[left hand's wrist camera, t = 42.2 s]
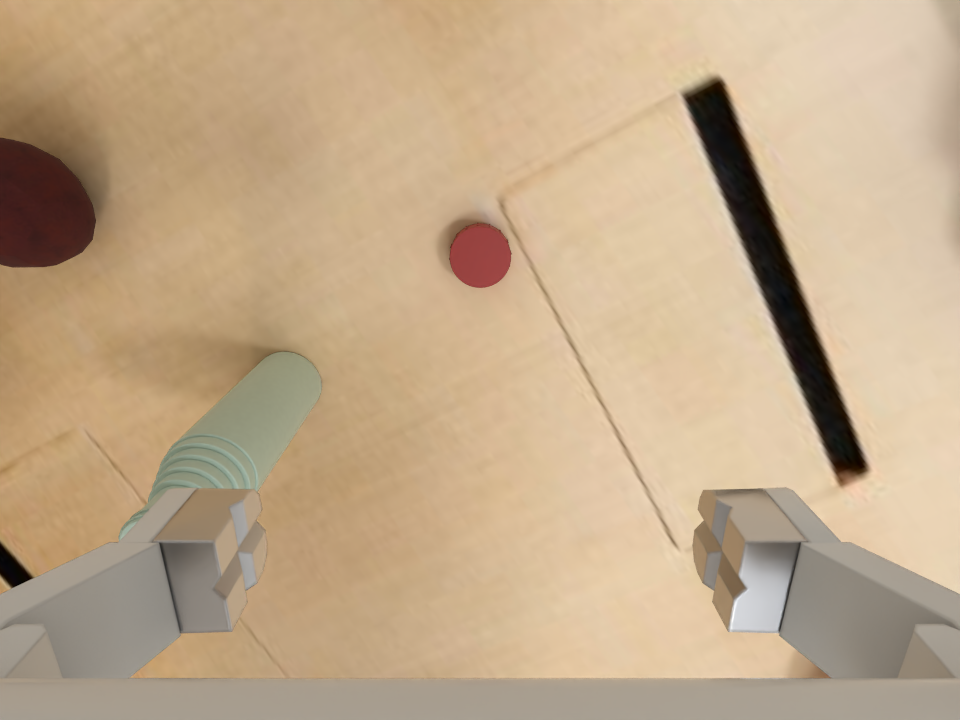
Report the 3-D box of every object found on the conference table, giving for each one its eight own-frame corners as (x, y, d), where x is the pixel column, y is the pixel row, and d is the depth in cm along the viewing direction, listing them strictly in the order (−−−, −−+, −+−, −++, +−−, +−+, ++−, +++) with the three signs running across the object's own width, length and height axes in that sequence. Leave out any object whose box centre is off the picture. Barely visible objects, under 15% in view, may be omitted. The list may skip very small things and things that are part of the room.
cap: (460, 289, 39) (459, 295, 37) (443, 232, 38) (441, 236, 36) (516, 273, 39) (518, 278, 37) (501, 215, 37) (501, 218, 36)
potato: (21, 114, 35) (-86, 106, 28) (138, 189, 37) (63, 197, 30) (-18, 214, 37) (-126, 228, 31) (95, 281, 39) (15, 308, 32)
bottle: (267, 340, 40) (106, 481, 23) (331, 368, 41) (223, 525, 24) (246, 397, 42) (80, 569, 25) (308, 422, 43) (190, 608, 25)
